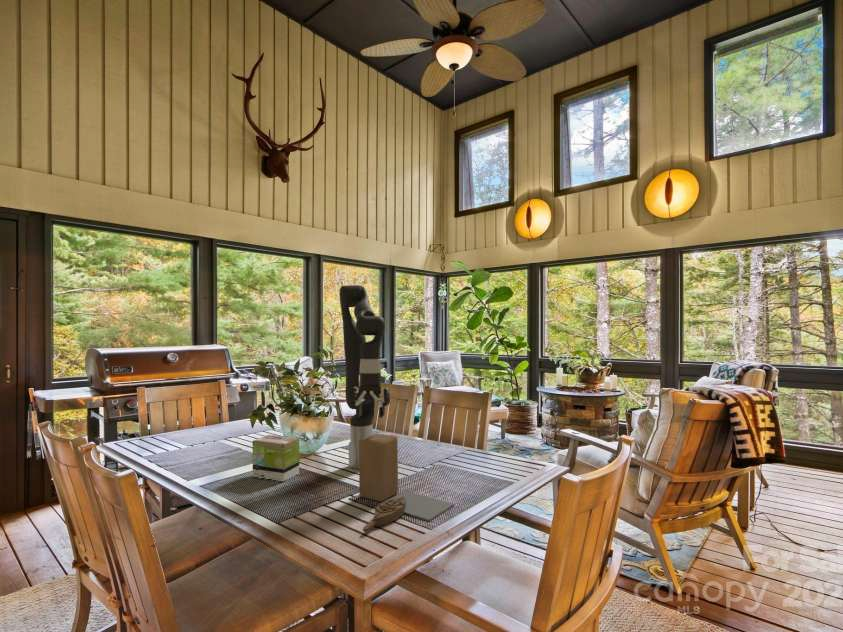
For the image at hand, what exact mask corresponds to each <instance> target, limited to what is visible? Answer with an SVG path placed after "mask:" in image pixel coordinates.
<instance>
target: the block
mask: <svg viewBox="0 0 843 632" xmlns="http://www.w3.org/2000/svg"><path fill="white" fill-rule="evenodd" d="M398 442H399V441H398V437H397V436H396V435H392V434H384V433H377V432H376V433H373V435H370V436H367V437H364V438H361V439H360V440H359V469H358V473H359V476H358V477H359V479H358V481H359V485H358V487H359V496H360V498H365V499H368V500H372V501H376V502H380V503H382V502H384V501H386V500H388V499H390V498H392V497H394V496H396V495H398V492H399V466H398V465H399V460H398V459H399V458H398V456H399V451H398V450H399V449H398V448H399V447H398Z"/></svg>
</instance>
